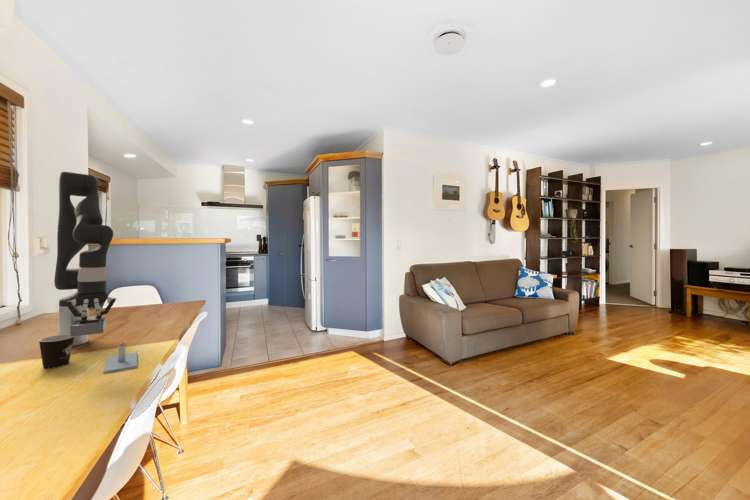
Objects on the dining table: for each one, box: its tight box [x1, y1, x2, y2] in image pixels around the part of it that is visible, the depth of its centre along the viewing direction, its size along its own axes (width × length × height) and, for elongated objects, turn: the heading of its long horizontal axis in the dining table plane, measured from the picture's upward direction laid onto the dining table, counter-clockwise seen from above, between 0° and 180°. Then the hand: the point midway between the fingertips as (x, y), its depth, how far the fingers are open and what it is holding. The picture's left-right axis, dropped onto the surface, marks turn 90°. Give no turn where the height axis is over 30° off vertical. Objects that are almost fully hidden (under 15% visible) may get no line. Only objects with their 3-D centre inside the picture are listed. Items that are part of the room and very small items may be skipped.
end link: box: [70, 315, 107, 337], centre depth 104 cm, size 14×8×4 cm, turn 38°
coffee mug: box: [38, 334, 74, 370], centre depth 109 cm, size 12×9×10 cm
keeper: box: [103, 342, 138, 375], centre depth 111 cm, size 16×9×8 cm, turn 39°
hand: (91, 326), depth 107 cm, fingers closed on end link, 2 cm apart
